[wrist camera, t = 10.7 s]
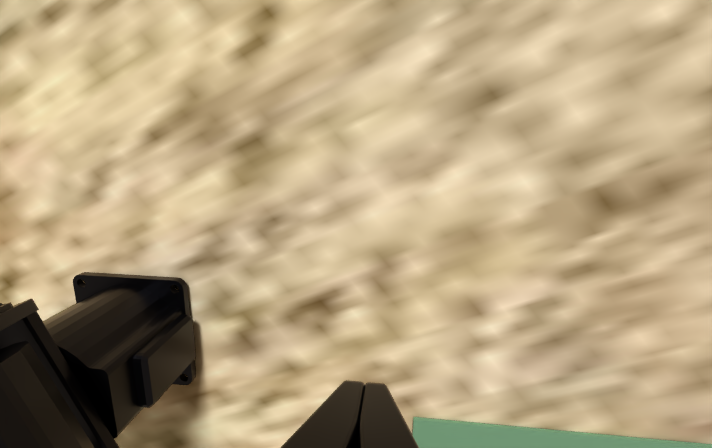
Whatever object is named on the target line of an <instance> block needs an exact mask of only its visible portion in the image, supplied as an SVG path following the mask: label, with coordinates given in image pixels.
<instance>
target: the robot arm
mask: <svg viewBox="0 0 712 448" xmlns="http://www.w3.org/2000/svg"><path fill="white" fill-rule="evenodd" d="M83 280H84V281H85V283H86V284H85V283H84V282H83ZM174 285H177V286H178V288H179V290H177V289H175V287H174ZM73 286H74V291H75V297H76V304H74V305H73V306H71V307H69V308H67V309H65V310H63V311H61V312H60V313H58V314H56V315H54V316H52V317H50V318H48V319H47V320H45V321H42V320H41V318H40V316H39V315H38V313H37V310H39V309H38V307H37V306H36V304H35V303H34V301H33V299H29V300H27V301H24V302H22V303H19V304H17V305H14V306H12V304H11V302H10V303H7V304H1V303H0V448H119V446H118V445H117V443H116V441H115V440H114V438H116V437H117V436H118V435H119V434H120V433H121V432H122V431H123V429H124V428H125V427H126V426H127V425H128V424H129V423H130V422H131V421H132V420H133V419H134V417H135V416H136V415H137V414H138V413H139V412H140V411H141V410H142V409H143V408H144V407H147V408H150V407H151V406H152V405H153V404H154V403H155V402H156V401H157V400H158V399H159V398H160V397H161V396H162V395H163V393H164V392H165V391H166V390H167V389H168V388H169V387H170V386H171V385H172V384H179V385H188V384H190V383H191V382H192V381H193V380H194V378H195V377H196V371H195V360H194V359H195V357H196V352H195V342H194V332H193V321H192V318H191V316H190V309H189V299H188V289H187V284H186V282H185V281H184V280H183V279H181V278H174V277H157V276H140V275H123V274H106V273H89V272H84V273H81V274H79V275H77V276H75V277H74V279H73ZM184 374H186V375H187V376H188V377H186V376H185V375H184ZM281 448H419V447H418V445H417V443H416V441H415V439H414V437H413V435H412V433H411V431H410V429H409V428H408V426H407V424H406V422H405V420H404V418H403V416H402V414H401V412H400V410H399V409H398V407H397V405H396V403H395V401H394V399H393V397H392V395H391V393H390V391H389V390H388V388H387V386H386V385H385V384H382V383H370V382H368V383H366V384H364V383H363V382H359V381H344V382H343V383H342V384H341V385H340V386H339V387H338V388H337V389H336V390H335V391H334V392H333V393H332V394H331V395H330V396H329V398H328V399H327V400H326V401H325V402H324V403H323V404H322V405H321V406H320V407H319V408H318V409H317V410H316V411H315V412H314V413H313V414H312V415H311V416H310V417H309V418H308V420H307V421H306V422H305V423H304V424H303V425H302V426H301V427H300V428H299V429H298V430H297V431H296V432H295V433H294V434H293V435H292V436H291V437H290V438H289V439H288V440H287V442H286V443H285V444H284V445H283V446H282V447H281Z"/></svg>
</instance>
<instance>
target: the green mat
mask: <svg viewBox="0 0 712 448" xmlns="http://www.w3.org/2000/svg"><path fill="white" fill-rule="evenodd" d="M412 435H413V437H414V439H415V441H416V443H417V445H418V447H419V448H712V444H702V443H691V442H680V441H670V440H659V439H648V438H637V437H626V436H615V435H604V434H593V433H583V432H572V431H561V430H550V429H539V428H528V427H517V426H506V425H496V424H485V423H474V422H463V421H452V420H441V419H430V418H419V417H414V418H413V434H412Z"/></svg>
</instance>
